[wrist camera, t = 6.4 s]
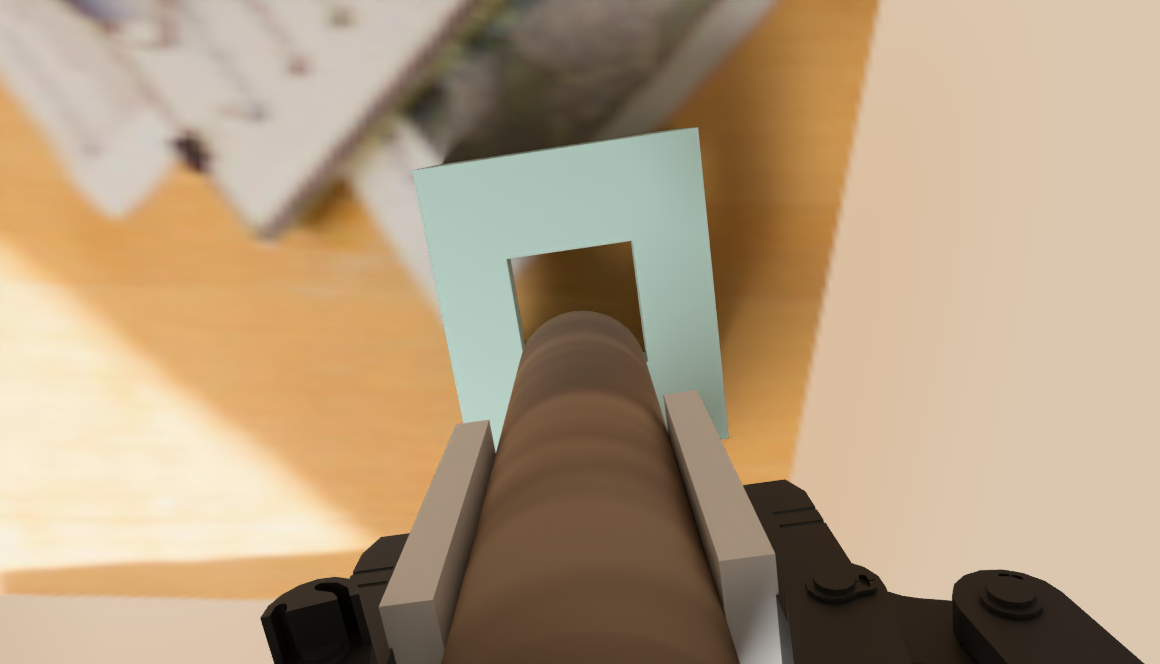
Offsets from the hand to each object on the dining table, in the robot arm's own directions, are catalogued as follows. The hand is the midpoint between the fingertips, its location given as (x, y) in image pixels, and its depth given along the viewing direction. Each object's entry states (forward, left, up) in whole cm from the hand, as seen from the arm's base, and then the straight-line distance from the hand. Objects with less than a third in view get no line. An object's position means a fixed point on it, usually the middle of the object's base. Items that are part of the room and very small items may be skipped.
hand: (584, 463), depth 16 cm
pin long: (0, 0, -7) cm, 7 cm away
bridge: (0, 0, -23) cm, 23 cm away
